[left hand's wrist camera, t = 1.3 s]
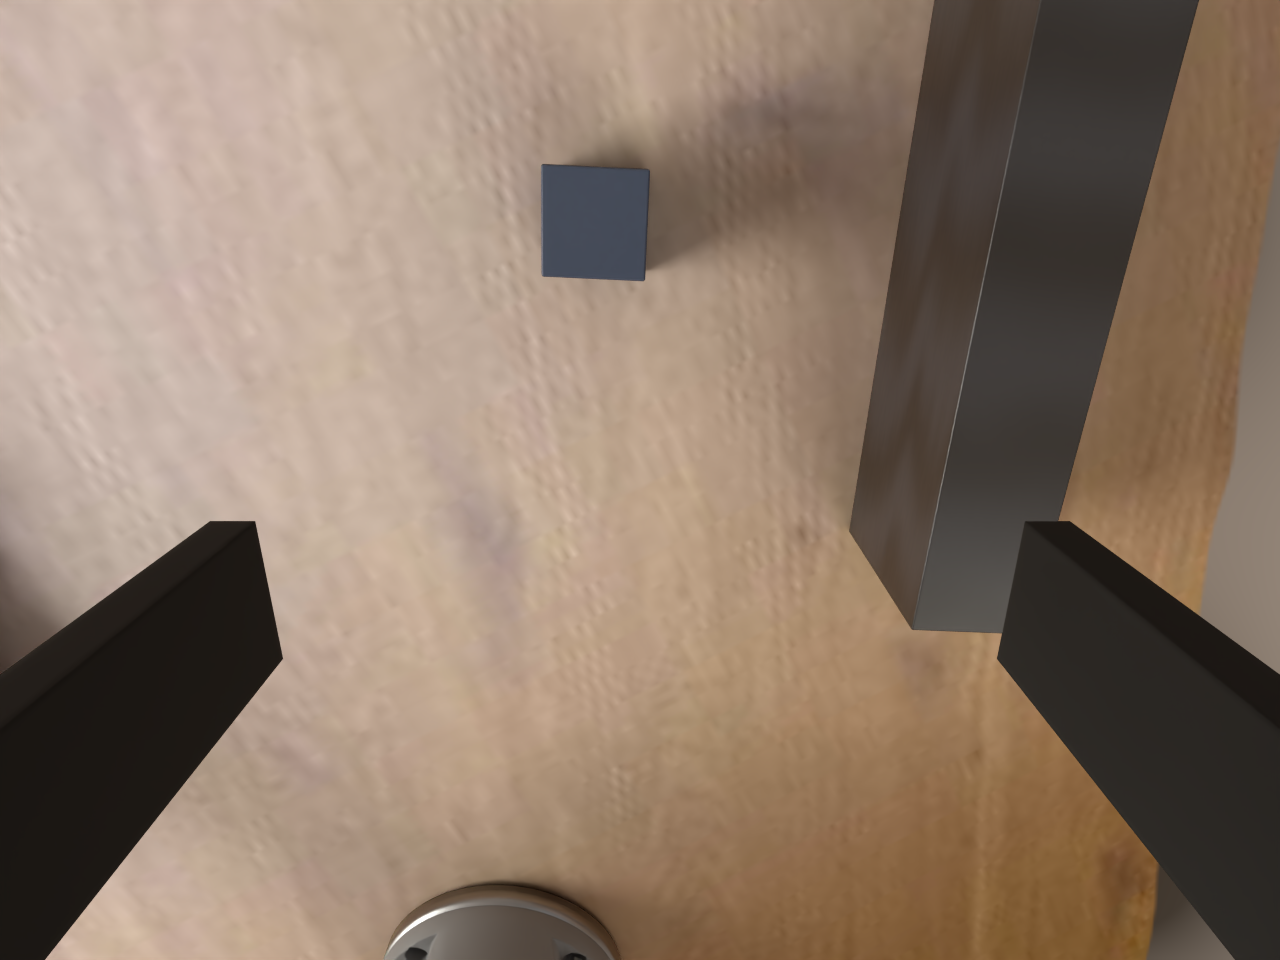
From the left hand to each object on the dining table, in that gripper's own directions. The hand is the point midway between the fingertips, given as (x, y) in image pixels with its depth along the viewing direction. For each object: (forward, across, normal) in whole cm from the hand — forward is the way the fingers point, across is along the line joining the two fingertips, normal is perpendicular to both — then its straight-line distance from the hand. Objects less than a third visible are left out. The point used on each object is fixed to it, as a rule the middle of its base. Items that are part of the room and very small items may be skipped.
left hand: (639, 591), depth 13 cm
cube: (+22, +2, -6) cm, 23 cm away
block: (+22, -13, -4) cm, 26 cm away
